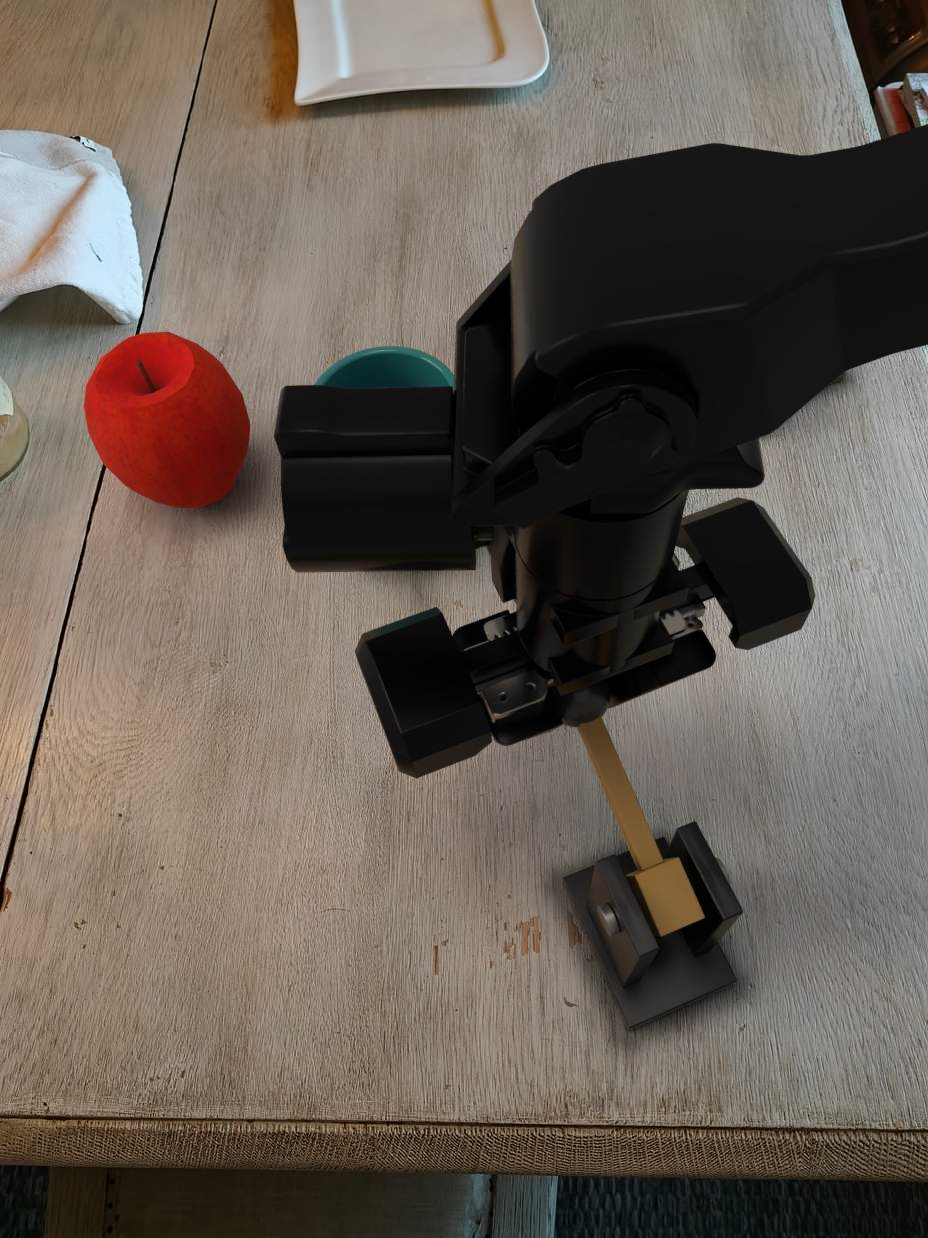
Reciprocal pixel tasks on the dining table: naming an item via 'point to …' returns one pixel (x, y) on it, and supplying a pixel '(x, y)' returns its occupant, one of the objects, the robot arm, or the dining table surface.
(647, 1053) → the dining table surface
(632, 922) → the switch bracket
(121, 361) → the apple
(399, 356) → the cup
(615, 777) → the switch lever
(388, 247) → the dining table surface
